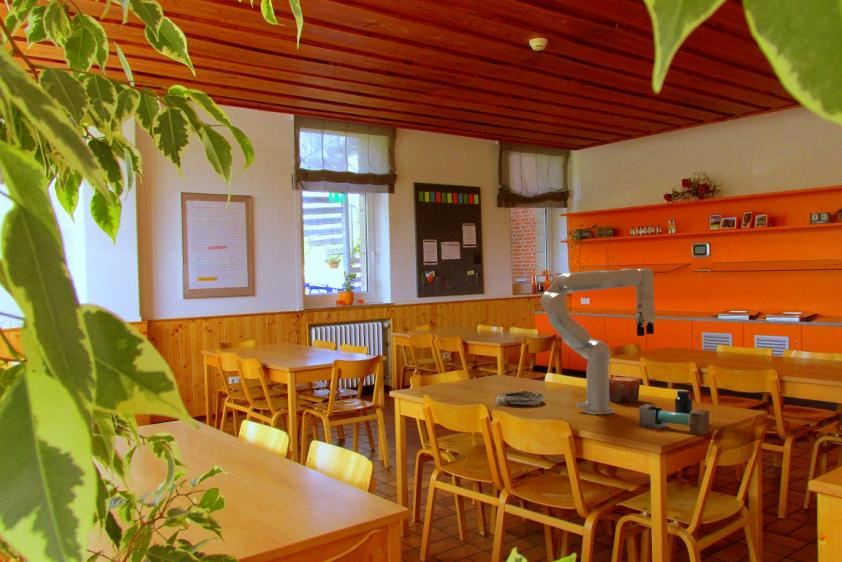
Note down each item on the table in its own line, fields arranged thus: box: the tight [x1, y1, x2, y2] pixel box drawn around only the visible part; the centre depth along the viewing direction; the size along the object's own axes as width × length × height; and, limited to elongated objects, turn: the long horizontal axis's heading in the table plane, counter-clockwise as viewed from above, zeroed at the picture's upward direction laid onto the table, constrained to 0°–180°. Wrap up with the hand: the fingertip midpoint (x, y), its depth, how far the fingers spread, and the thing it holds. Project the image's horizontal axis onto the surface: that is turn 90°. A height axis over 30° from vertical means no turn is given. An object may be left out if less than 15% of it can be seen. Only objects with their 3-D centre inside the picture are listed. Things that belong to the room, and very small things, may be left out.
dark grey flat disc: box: [494, 390, 545, 407], centre depth 339 cm, size 28×27×5 cm
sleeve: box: [638, 403, 668, 430], centre depth 284 cm, size 8×7×8 cm
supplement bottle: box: [674, 390, 694, 414], centre depth 295 cm, size 7×7×12 cm
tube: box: [658, 410, 692, 428], centre depth 277 cm, size 16×6×6 cm, turn 49°
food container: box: [609, 376, 642, 404], centre depth 338 cm, size 16×16×11 cm
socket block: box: [689, 409, 710, 436], centre depth 272 cm, size 4×8×8 cm, turn 139°
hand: (645, 334), depth 317 cm, fingers open, 9 cm apart
